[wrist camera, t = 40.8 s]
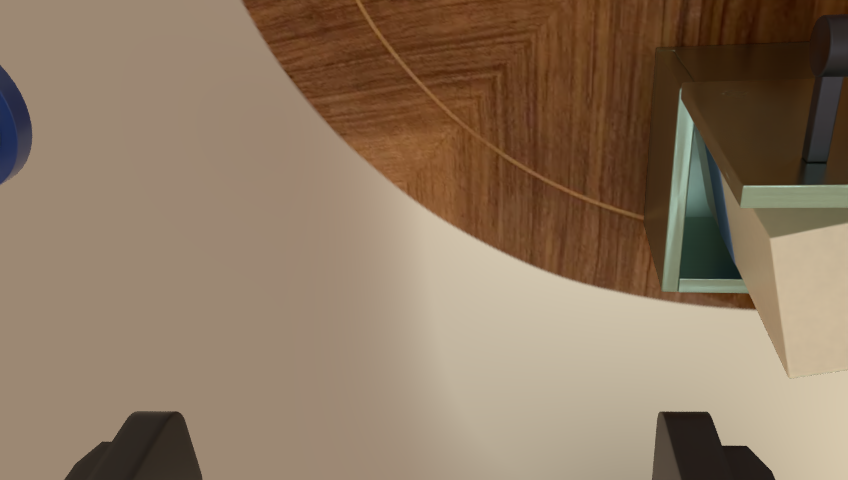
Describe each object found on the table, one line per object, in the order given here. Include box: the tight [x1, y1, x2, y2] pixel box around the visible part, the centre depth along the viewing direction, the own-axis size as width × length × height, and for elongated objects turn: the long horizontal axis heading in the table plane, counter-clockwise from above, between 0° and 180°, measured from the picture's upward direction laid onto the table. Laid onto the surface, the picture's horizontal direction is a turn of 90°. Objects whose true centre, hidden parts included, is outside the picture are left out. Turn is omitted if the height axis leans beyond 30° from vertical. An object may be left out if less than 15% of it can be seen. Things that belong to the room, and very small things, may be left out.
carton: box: [694, 126, 848, 379], centre depth 37 cm, size 5×7×18 cm
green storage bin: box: [644, 42, 848, 293], centre depth 42 cm, size 12×11×9 cm
